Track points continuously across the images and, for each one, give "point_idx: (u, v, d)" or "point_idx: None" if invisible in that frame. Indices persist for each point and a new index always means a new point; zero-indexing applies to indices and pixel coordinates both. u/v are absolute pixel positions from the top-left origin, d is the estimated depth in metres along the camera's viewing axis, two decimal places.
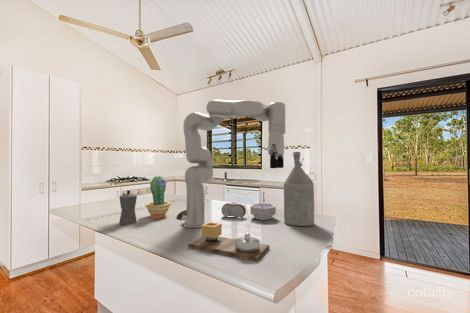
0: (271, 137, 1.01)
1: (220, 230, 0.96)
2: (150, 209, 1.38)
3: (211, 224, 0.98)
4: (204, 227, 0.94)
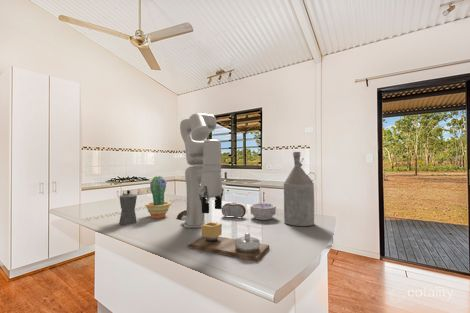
0: (203, 178, 0.92)
1: (220, 230, 0.96)
2: (150, 209, 1.38)
3: (211, 224, 0.98)
4: (204, 227, 0.94)
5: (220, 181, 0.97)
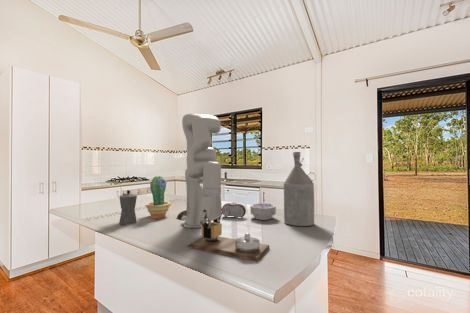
0: (203, 202, 0.92)
1: (220, 230, 0.96)
2: (150, 209, 1.38)
3: (211, 224, 0.98)
4: None
5: (220, 203, 0.97)
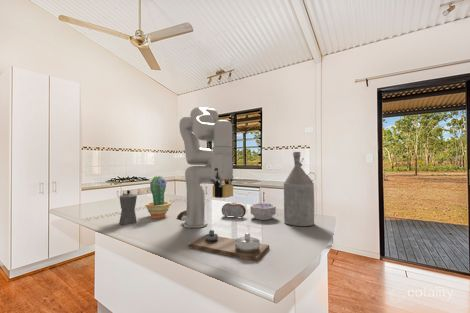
0: (214, 160, 0.89)
1: (232, 191, 0.93)
2: (150, 209, 1.38)
3: (222, 186, 0.95)
4: None
5: (231, 164, 0.95)
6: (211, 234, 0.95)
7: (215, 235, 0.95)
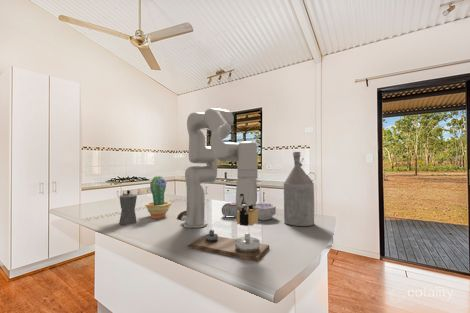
0: (239, 185, 0.83)
1: (257, 217, 0.87)
2: (150, 209, 1.38)
3: None
4: None
5: (256, 187, 0.88)
6: (211, 234, 0.95)
7: (215, 235, 0.95)
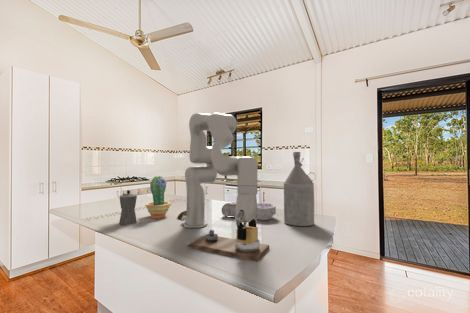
0: (239, 201, 0.83)
1: (256, 235, 0.87)
2: (150, 209, 1.38)
3: (246, 228, 0.89)
4: None
5: (256, 202, 0.88)
6: (211, 234, 0.95)
7: (215, 235, 0.95)
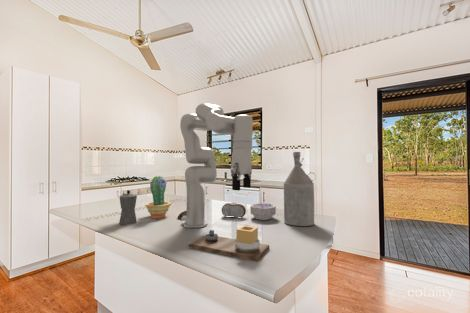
0: (234, 155, 0.89)
1: (256, 235, 0.87)
2: (150, 209, 1.38)
3: (246, 228, 0.89)
4: (240, 232, 0.84)
5: (250, 159, 0.95)
6: (211, 234, 0.95)
7: (215, 235, 0.95)
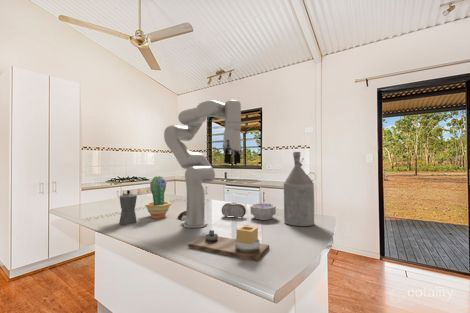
0: (226, 133, 1.05)
1: (256, 235, 0.87)
2: (150, 209, 1.38)
3: (246, 228, 0.89)
4: (240, 232, 0.84)
5: (239, 138, 1.11)
6: (211, 234, 0.95)
7: (215, 235, 0.95)
